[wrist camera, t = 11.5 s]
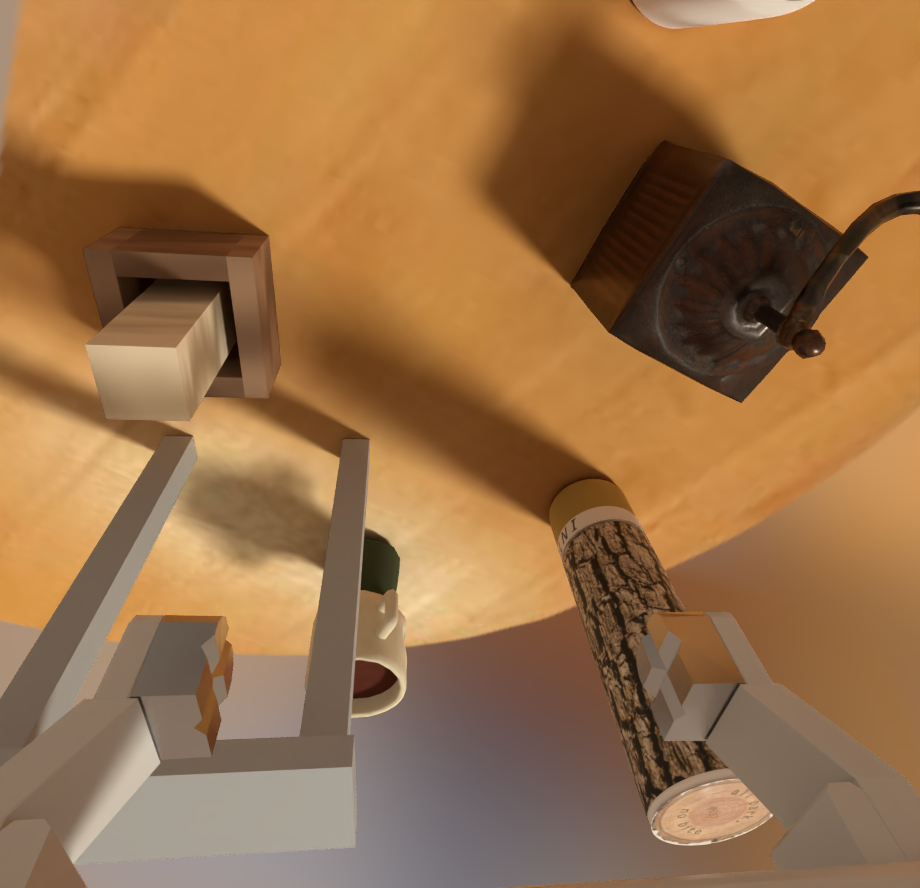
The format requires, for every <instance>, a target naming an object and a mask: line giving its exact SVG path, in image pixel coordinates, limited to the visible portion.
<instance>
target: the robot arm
mask: <svg viewBox="0 0 920 888" xmlns="http://www.w3.org/2000/svg"><path fill="white" fill-rule="evenodd" d="M647 627H648V629H649V632H650V633H649V634H648V635H646V636H645V637H643V638H642V639H641V640H640V643H639V646H638V648H637V669H638V674H639V678H640V680H641V683H642V686H643V688H644V689H645V690H647V691H648V692H649V693H650V694H651V695H652V696H653V697H654V701H653V704H652V707H651V709H652V712H653V715H654V717H655V720H656V722H657V725H658V727H659V730H660V733H661V735H662V738H663V740H664V741H706V744H707V745H708V746H709V747H710V749H711V750H712V751H713V752H714V753H715V754H716V755H717V756H718V757H719V758H720V759H721V760H722V761H723V762H724V763H725V764H726V766H727V767H728V768H729V769H730V770H731V771H732V772H733V773H734V774H735V775H736V776H737V777H738V778H739V779H740V780H741V781H742V783H743V784H744V785H745V786H746V787H747V788H748V789H749V790H750V791H751V792H752V793H753V794H754V795H755V796H756V797H757V798H758V800H759V801H760V802H761V803H762V804H763V805H764V806H765V807H766V808H767V809H768V810H769V811H770V812H771V813H772V814H773V815H774V816H775V818H776V819H777V820H778V821H779V822H780V823H781V824H782V825H783V826H784V827H785V828H786V829H787V830H788V831H787V832H786V833H785V835H784V836H783V837H782V838H781V839H780V840H779V842H778V843H777V844H776V845H775V846H774V848H773V850H772V853H771V857H772V859H773V861H774V864H775V866H776V868H777V870H769V871H768V870H767V871H752V872H737V873H722V874H706V875H690V876H675V877H660V878H644V879H628V880H613V881H598V882H583V883H567V884H552V885H537V886H520V887H505V888H920V798H919V796H918V795H917V793H916V792H915V791H914V789H913V788H912V786H911V785H910V783H909V782H908V780H907V779H906V778H905V777H904V776H902V775H901V774H900V773H899V772H897V771H896V770H895V769H893V768H892V767H891V766H889V765H888V764H887V763H885V762H884V761H883V760H881V759H880V758H879V757H877V756H876V755H875V754H873V753H872V752H871V751H869V750H868V749H867V748H865V747H864V746H863V745H861V744H860V743H859V742H857V741H856V740H855V739H853V738H852V737H851V736H850V735H848V734H847V733H845V732H844V731H843V730H842V729H840V728H839V727H837V726H836V725H835V724H834V723H832V722H831V721H830V720H828V719H827V718H825V717H824V716H823V715H822V714H820V713H819V712H818V711H816V710H815V709H814V708H812V707H811V706H809V705H808V704H807V703H806V702H804V701H803V700H802V699H800V698H799V697H798V696H796V695H795V694H794V693H792V692H791V691H790V690H788V689H787V688H786V687H784V686H783V685H782V684H775V683H773V682H772V681H771V679H770V677H769V675H768V674H767V672H766V670H765V669H764V667H763V665H762V664H761V662H760V661H759V659H758V657H757V656H756V654H755V652H754V650H753V649H752V647H751V645H750V644H749V642H748V640H747V639H746V637H745V635H744V633H743V632H742V630H741V629H740V627H739V625H738V623H737V622H736V620H735V618H734V617H733V616H732V615H731V614H730V613H728V612H659V613H654V614H653V615H651V616H650V618H649V620H648V623H647ZM228 629H229V628H228V624H227V619H226V617H224V616H180V615H136V616H135V617H134V618H133V619H132V620H131V622H130V623H129V624H128V626H127V628H126V630H125V632H124V635H123V637H122V639H121V641H120V643H119V645H118V647H117V649H116V652H115V654H114V656H113V658H112V660H111V662H110V664H109V667H108V669H107V671H106V673H105V675H104V677H103V679H102V681H101V684H100V686H99V688H98V690H97V692H96V694H95V696H94V698H93V699H84V700H83V701H81V702H80V703H79V704H78V705H76V706H75V707H74V708H73V709H71V710H70V711H69V712H68V713H66V714H65V715H64V716H63V717H62V718H60V719H59V720H58V721H57V722H55V723H54V724H53V725H52V726H50V727H49V728H48V729H47V730H46V731H44V732H43V733H42V734H41V735H39V736H38V737H37V738H36V739H34V740H33V741H32V742H31V743H30V744H28V745H27V746H26V747H25V748H23V749H22V750H21V751H20V752H18V753H17V754H16V755H15V756H14V757H12V758H11V759H10V760H9V761H7V762H6V763H5V764H4V765H2V766H1V767H0V888H88V887H87V885H86V883H85V882H84V880H83V879H82V877H81V875H80V874H79V872H78V871H77V869H76V867H75V866H74V864H73V863H74V862H75V861H76V860H77V859H78V858H79V857H80V855H81V854H82V853H83V852H84V851H85V850H86V848H87V847H88V846H89V845H90V844H91V843H92V842H93V840H94V839H95V838H96V837H97V836H98V835H99V833H100V832H101V831H102V830H103V829H104V828H105V827H106V825H107V824H108V823H109V822H110V821H111V820H112V818H113V817H114V816H115V815H116V814H117V813H118V812H119V810H120V809H121V808H122V807H123V806H124V805H125V803H126V802H127V801H128V800H129V799H130V798H131V796H132V795H133V794H134V793H135V792H136V791H137V790H138V788H139V787H140V786H141V785H142V784H143V783H144V781H145V780H146V779H147V778H148V777H149V776H150V775H151V773H152V772H153V771H154V770H155V769H156V768H157V766H158V765H159V764H160V760H167V759H184V758H200V757H212V754H213V750H214V746H215V743H216V739H217V735H218V731H219V727H220V723H221V716H220V712H219V705H220V704H221V703H222V702H223V701H224V700H225V699H226V698H227V697H228V693H229V689H230V685H231V680H232V671H233V649H232V644H230V643H229V642H228V641H226V636H227V633H228Z"/></svg>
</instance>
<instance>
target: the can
mask: <svg viewBox="0 0 920 888" xmlns="http://www.w3.org/2000/svg"><path fill="white" fill-rule="evenodd" d="M632 1H633V3H634V4H635V6H636V7H637V9H638V10H639V11H640V12H641V13H642V14H643V15H644V16H645V17H646V18H647V19H649V20H650V21H652V22H653V23H655V24H657V25H659V26H662V27H665V28H690V27H699V26H707V25H716V24H724V23H732V22H740V21H748V20H756V19H763V18H770V17H775V16H780V15H785V14H788V13H791V12H794V11H796V10H799V9H801V8H803V7H805V6H807V5H809V4H810V3H812V2H813V1H815V0H632Z"/></svg>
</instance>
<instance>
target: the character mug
mask: <svg viewBox="0 0 920 888" xmlns="http://www.w3.org/2000/svg"><path fill="white" fill-rule="evenodd" d="M399 565H400V558H399V556H398V554H397V552H396V551H395V549H394V547H392V546H390V545H388V544H385V543H383V542H381V541H376V540H372V539H367V538H364V545H363V559H362V573H361V587H360V601H359V616H358V630H357V644H356V658H355V672H354V686H353V700H352V714H351V718H356V717H366V716H373V715H376V714H379V713H382V712H386V711H387V710H389V709H391V708H392V707H394V706H395V705H397V704H398V702H400V701H401V699H402V698H403V697H404V694H405V691H406V668H407V655H406V649H405V644H404V639H405V634H406V620H405V617H404V615H403V614H402V613H401V612H400V611H399V609H398V594H397V593H396V589H397V583H398V575H399ZM317 614H318V612H317ZM316 621H317V615H316V618H315V620H314V623H313V630H312V636H311V643H310V650H309V657H308V664H307V671H306V677H305V690H306V689H307V682H308V675H309V669H310V662H311V655H312V648H313V641H314V634H315V627H316Z"/></svg>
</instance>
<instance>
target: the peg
mask: <svg viewBox="0 0 920 888" xmlns="http://www.w3.org/2000/svg"><path fill="white" fill-rule="evenodd" d="M236 341H237V334H236V327H235V320H234V312H233V305H232V298H231V290H230V283H229V282H226V281H205V280H183V279H162V278H158V279H157V280H156V281H155V282H154V283H153V284H152V285H151V286H149V287H148V288H147V289H146V290H145V291H144V292H143V293H142V294H141V295H139V296H138V297H137V298H136V299H135V300H134V301H133V302H132V303H131V304H129V305H128V306H127V307H126V308H125V309H124V310H123V311H122V312H121V313H119V314H118V315H117V316H116V317H115V318H114V319H113V320H112V321H111V322H109V323H108V324H107V325H106V326H105V327H104V328H103V329H102V330H101V331H99V332H98V333H97V334H96V335H95V336H94V337H93V338H92V339H91V340H89V341H88V342H87V343H86V344H85V347H86V350H87V354H88V357H89V361H90V364H91V368H92V371H93V375H94V378H95V382H96V386H97V389H98V393H99V396H100V400H101V403H102V407H103V410H104V414H105V417H106V419H118V420H163V421H190V420H191V418H192V417H193V415H194V413H195V411H196V410H197V408H198V406H199V405H200V403H201V401H202V399H203V398H204V396H205V394H206V393H207V391H208V389H209V387H210V386H211V384H212V382H213V380H214V379H215V377H216V375H217V374H218V372H219V370H220V368H221V367H222V365H223V363H224V361H225V360H226V358H227V356H228V355H229V353H230V351H231V349H232V348H233V346H234V344H235V342H236Z"/></svg>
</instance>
